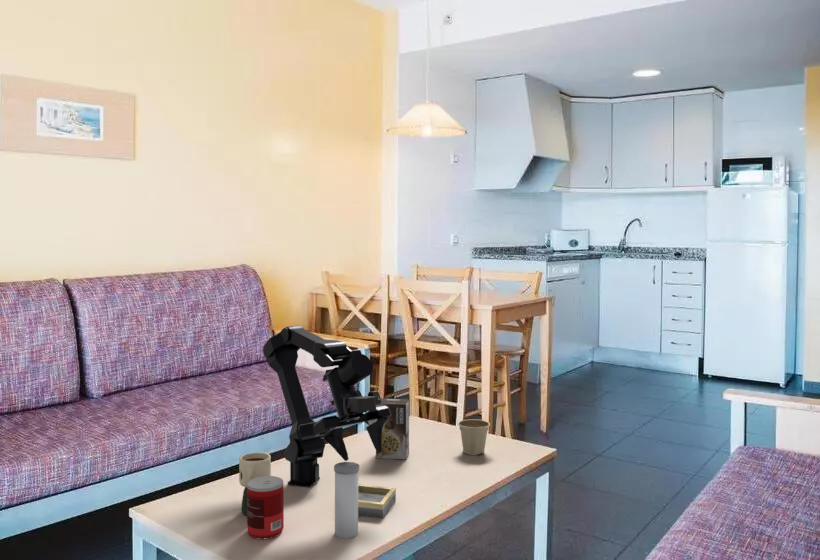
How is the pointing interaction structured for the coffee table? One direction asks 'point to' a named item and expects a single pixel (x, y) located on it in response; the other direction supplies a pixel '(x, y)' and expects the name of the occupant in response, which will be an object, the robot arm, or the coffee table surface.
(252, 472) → the character mug
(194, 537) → the coffee table surface
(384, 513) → the tan rimmed dish
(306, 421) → the robot arm
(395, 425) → the coffee box
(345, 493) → the tall white tube
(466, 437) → the flower pot
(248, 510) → the canned food
